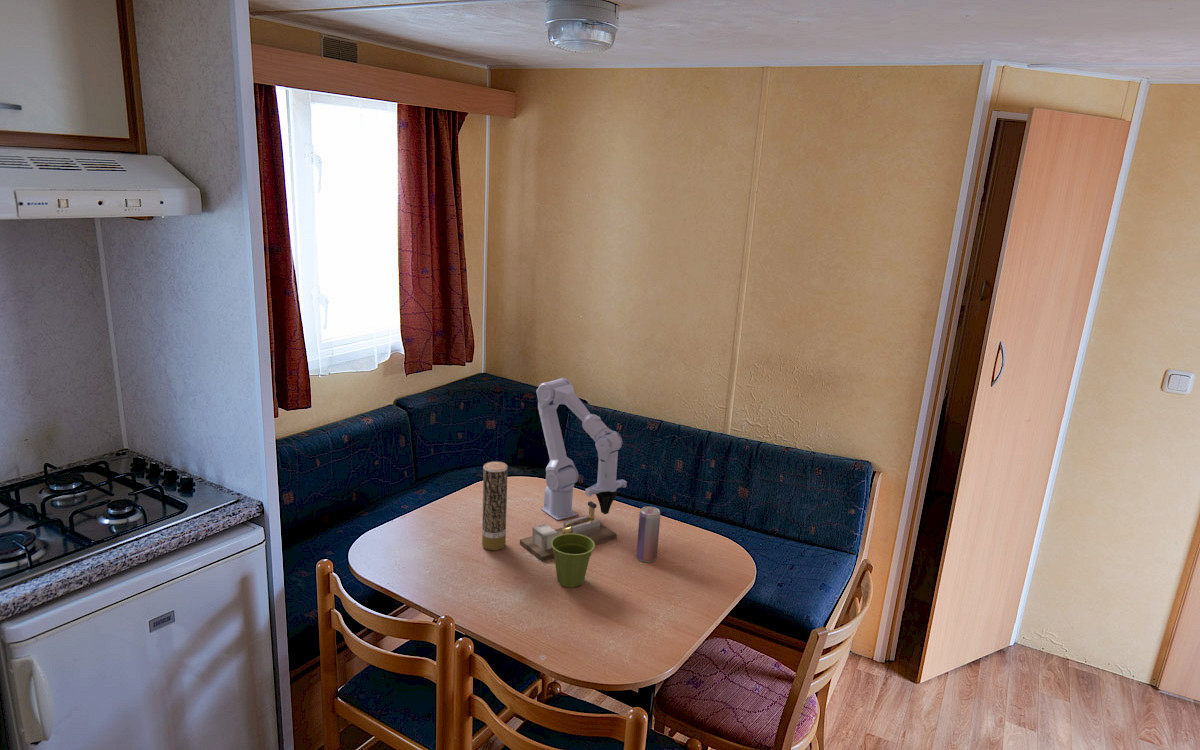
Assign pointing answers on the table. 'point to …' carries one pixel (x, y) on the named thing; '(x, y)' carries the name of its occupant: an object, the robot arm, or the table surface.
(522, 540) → the base board
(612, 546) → the table surface
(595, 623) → the table surface
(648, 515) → the beverage can
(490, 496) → the brown tall cylinder
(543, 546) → the socket block
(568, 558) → the plant pot
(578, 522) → the sleeve
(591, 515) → the sliding latch bolt
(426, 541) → the table surface
